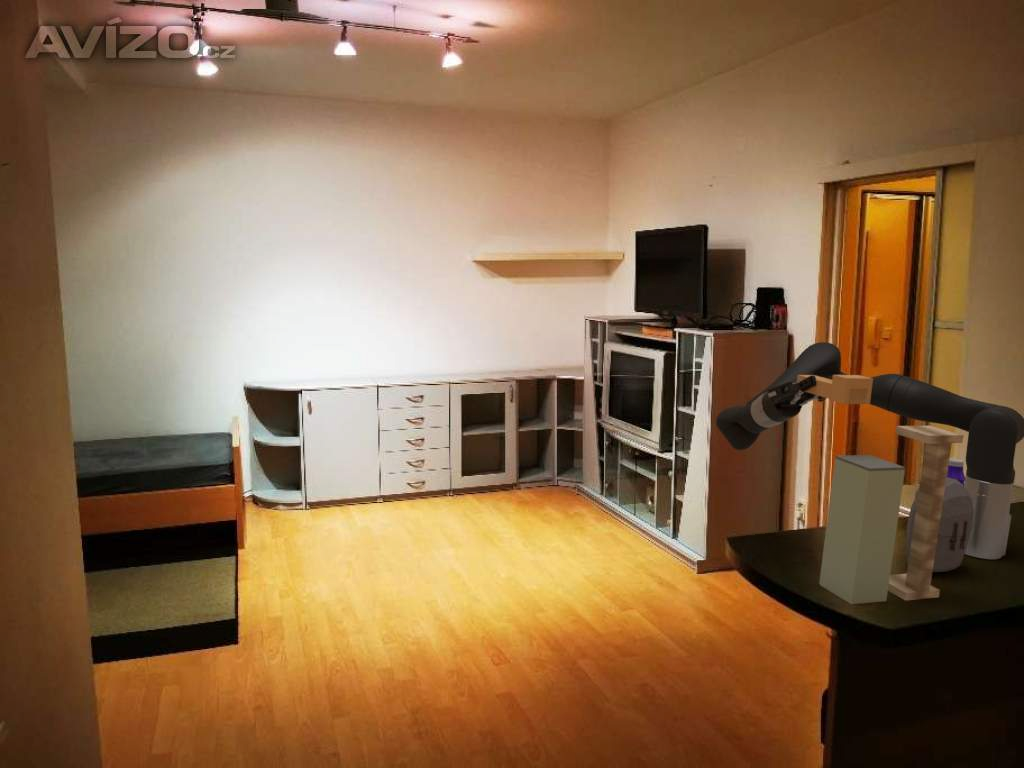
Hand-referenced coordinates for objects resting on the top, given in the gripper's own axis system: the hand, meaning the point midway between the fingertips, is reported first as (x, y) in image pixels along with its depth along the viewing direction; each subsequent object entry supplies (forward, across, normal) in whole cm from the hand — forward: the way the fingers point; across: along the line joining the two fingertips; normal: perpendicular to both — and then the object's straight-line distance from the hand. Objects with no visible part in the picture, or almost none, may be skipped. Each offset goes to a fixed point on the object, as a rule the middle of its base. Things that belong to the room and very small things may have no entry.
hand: (823, 380), depth 160 cm
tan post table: (-5, -12, -42) cm, 44 cm away
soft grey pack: (-12, -27, -38) cm, 48 cm away
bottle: (-31, -51, -27) cm, 66 cm away
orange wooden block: (0, 0, -4) cm, 4 cm away
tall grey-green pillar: (-6, 0, -41) cm, 42 cm away
